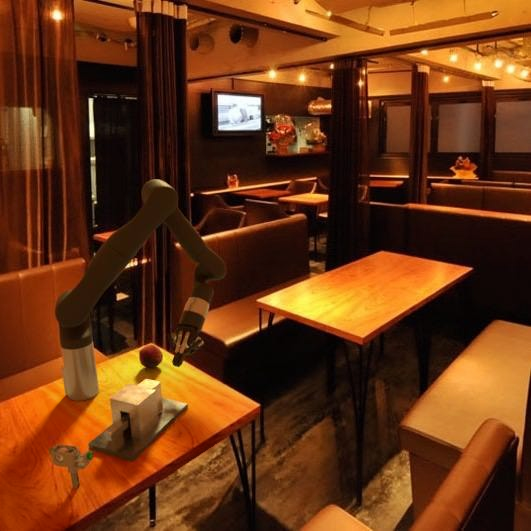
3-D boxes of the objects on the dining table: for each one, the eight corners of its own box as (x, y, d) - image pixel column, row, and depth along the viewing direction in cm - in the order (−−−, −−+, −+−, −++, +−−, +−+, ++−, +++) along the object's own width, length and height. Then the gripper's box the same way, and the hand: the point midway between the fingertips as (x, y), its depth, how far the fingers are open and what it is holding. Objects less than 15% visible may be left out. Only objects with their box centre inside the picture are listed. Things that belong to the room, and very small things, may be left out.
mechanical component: (92, 493, 115) (87, 456, 112) (52, 487, 116) (46, 451, 114) (99, 484, 117) (94, 448, 114) (60, 479, 119) (54, 443, 116)
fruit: (165, 362, 176) (163, 341, 174) (161, 372, 168) (159, 351, 166) (143, 362, 176) (141, 341, 174) (137, 373, 168) (135, 351, 166)
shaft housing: (88, 448, 130) (83, 410, 127) (148, 398, 153) (145, 364, 150) (132, 462, 125) (128, 422, 121) (187, 408, 148) (185, 373, 144)
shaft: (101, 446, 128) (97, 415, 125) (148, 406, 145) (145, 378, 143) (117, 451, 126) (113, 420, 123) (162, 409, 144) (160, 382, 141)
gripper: (171, 306, 159) (152, 358, 152) (208, 312, 154) (189, 365, 147) (182, 316, 165) (163, 366, 158) (217, 322, 160) (199, 373, 153)
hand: (176, 365), depth 152 cm, fingers closed
